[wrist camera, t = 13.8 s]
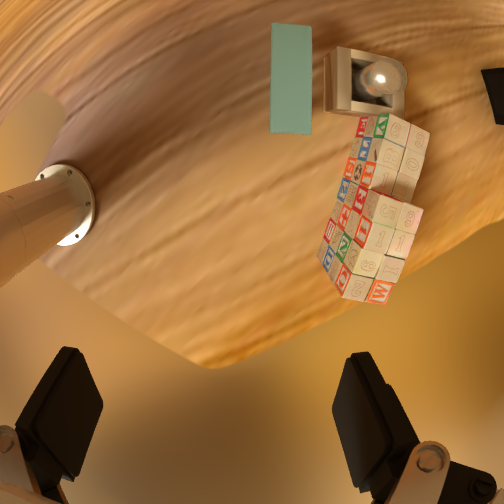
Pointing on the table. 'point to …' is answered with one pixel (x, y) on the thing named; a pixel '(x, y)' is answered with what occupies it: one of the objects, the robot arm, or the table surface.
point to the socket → (339, 86)
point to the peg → (378, 80)
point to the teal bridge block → (291, 79)
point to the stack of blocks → (375, 209)
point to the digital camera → (495, 91)
